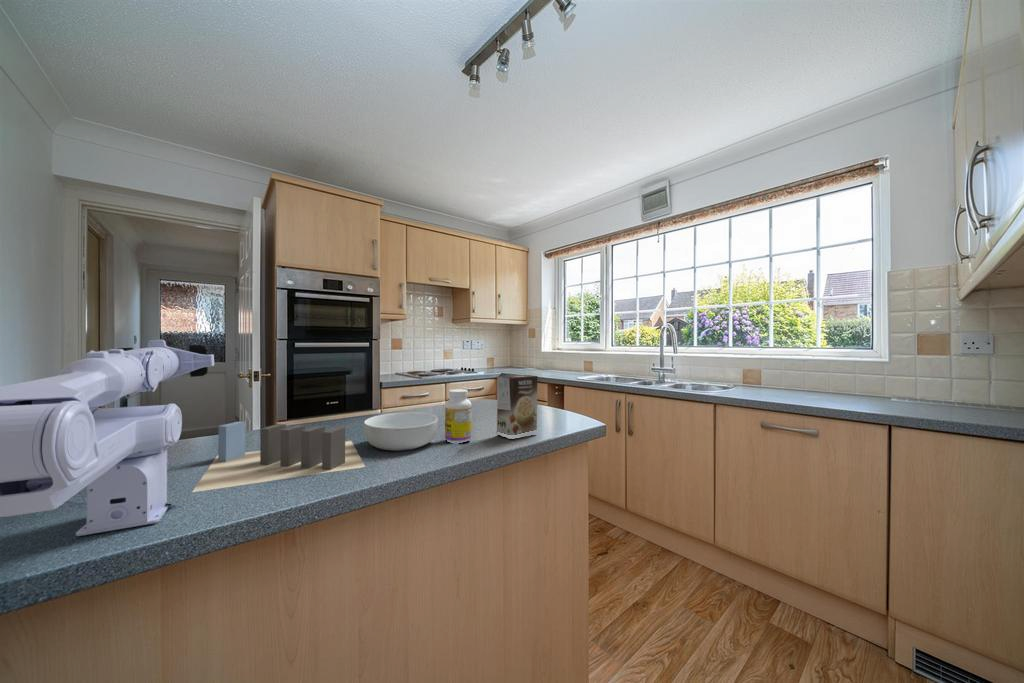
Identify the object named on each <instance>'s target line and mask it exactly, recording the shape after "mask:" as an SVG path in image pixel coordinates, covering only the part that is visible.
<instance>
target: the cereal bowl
mask: <svg viewBox="0 0 1024 683" xmlns="http://www.w3.org/2000/svg"><path fill="white" fill-rule="evenodd" d="M438 430H439V417H438V415H435V414H432V413H428V412H418V411H416V412H414V411H413V412H412V411H408V412H407V411H405V412H394V413H385V414H380V415H375V416H372V417H368V418H367V419H365V420H364V422H363V433H364V436H365V438H366V441H367V442H368V443H369V444H370V445H371V446H373V447H375V448H376V449H381V450H384V451H392V452H396V451H397V452H398V451H401V452H402V451H409V450H414V449H417V448H420V447H424V446H425V445H428V443H430V442H431V441H433V439H434V438H435V437H436V436H437V433H438Z"/></svg>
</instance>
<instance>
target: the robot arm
mask: <svg viewBox="0 0 1024 683" xmlns="http://www.w3.org/2000/svg"><path fill="white" fill-rule="evenodd" d="M207 351H208V350H207V348H206V346H205V345H203V344H191V345H189V346H188V351H187V350H183V349H180V348H175V347H171V346H168V345H167V344H166V341H165V340H164V339H151V340H149V341H148V342H147V346H146V347H144V348H143V347H142V348H134V347H121V348H119V347H118V348H113V349H112V348H110V349H107V350H99V351H94V350H90V351H89V352H86V353H85V358H83V359H79V360H76V361H73V362H71V363H68V364H67V365H66V366H65V367H63V368H62V369H60V371H59V372H58V374H57V375H55V376H50V377H44V378H38V379H35V380H34V379H33V380H28V381H24V382H23V381H22V382H19V383H13V384H7V385H2V386H0V517H3V518H5V517H13V516H21V515H26V514H34V513H41V512H49V511H53V510H55V509H58V508H59V507H61V506H62V505H63V504H65V503H66V502H67V501H68V500H70V499H71V498H73V497H74V496H75V495H77V494H78V493H79V492H81V491H82V490H84V489H85V488H86V523H85V524H84V525H83V526H82V527H80V528H79V529H78V530H77V531H76V532H75V536H76V537H81V536H87V535H94V534H98V533H105V532H106V533H107V532H110V531H116V530H122V529H123V530H124V529H128V528H133V527H139V526H146V525H152V524H157V523H159V521H160V520H161V519H162V517H163V516H164V515H165V514H166V513H167V511H168V510H169V509H170V507H171V506H172V503H168V448H170V447H173V446H174V445H175V444H176V443H177V442H178V441H179V439H180V438H181V437H180V436H181V434H182V430H183V429H182V428H183V427H182V426H183V415H182V410H181V408H180V407H179V406H178V405H177V404H176V403H168V404H159V405H145V406H144V405H143V406H125V407H110V408H109V407H107V408H100V407H103V406H106V405H108V404H110V403H111V404H112V403H114V402H115V401H117V400H119V399H121V398H123V397H125V396H127V395H129V394H131V393H145V392H151V393H154V392H155V391H156V389H157V388H158V386H159V383H160V382H161V383H162V382H165V381H168V380H171V379H174V378H177V377H180V376H183V375H185V374H187V373H189V377H190V378H194V377H204V376H205V375H208V372H209V368H208V367H214V366H215V355H214V354H213V353H212V354H208V352H207Z"/></svg>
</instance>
